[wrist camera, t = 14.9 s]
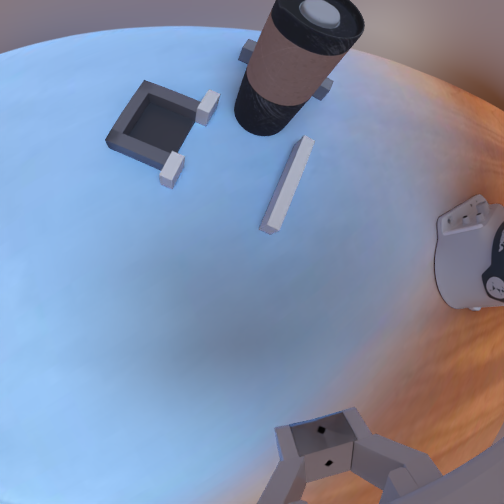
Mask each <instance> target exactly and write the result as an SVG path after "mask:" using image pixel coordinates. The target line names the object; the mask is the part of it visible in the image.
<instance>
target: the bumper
mask: <svg viewBox="0 0 504 504" xmlns="http://www.w3.org/2000/svg"><path fill="white" fill-rule="evenodd" d="M256 44H257V42H255V41H253V40H250V39H248V40H247V42H246V43H245V44H244V46H243V48H242V50H241V53H240V56H239V59H238V60H240V61H242V62H244V63H247V64H248V63H249V60H250V58H251V56H252V53H253V51H254V49H255V46H256ZM332 84H333V81H332V80H330V79H329V78H326V79H325V80H324V81H323V83H322V84H321V85H320V86H319V88H318V89H317V90H316V91H315V93H314V94H313V95H312V96H313V97H315V98H317V99H319V100H322V99H323V98H324V97H325V96H326V94H327V93H328V92H329V91H330V89H331V87H332Z"/></svg>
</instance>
